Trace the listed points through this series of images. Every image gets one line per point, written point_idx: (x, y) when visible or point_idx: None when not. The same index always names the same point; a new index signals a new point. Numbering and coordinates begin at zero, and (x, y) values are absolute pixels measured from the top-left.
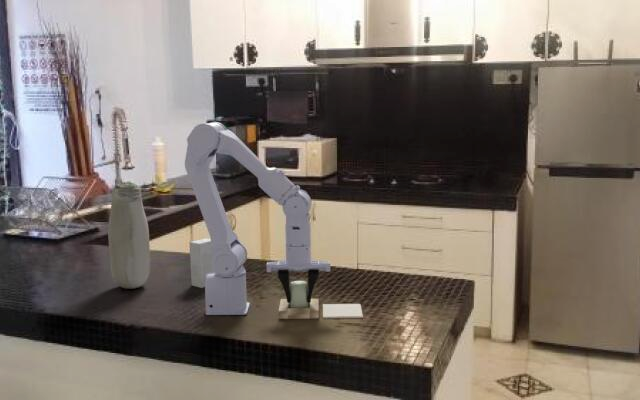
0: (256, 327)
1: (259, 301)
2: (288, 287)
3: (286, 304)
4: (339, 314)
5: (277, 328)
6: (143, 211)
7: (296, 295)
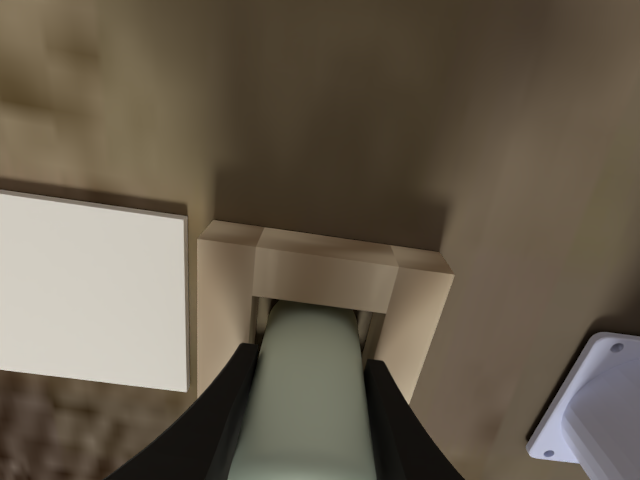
0: (614, 130)
1: (467, 471)
2: (400, 447)
3: None
4: (86, 238)
5: (490, 84)
6: None
7: (331, 376)
